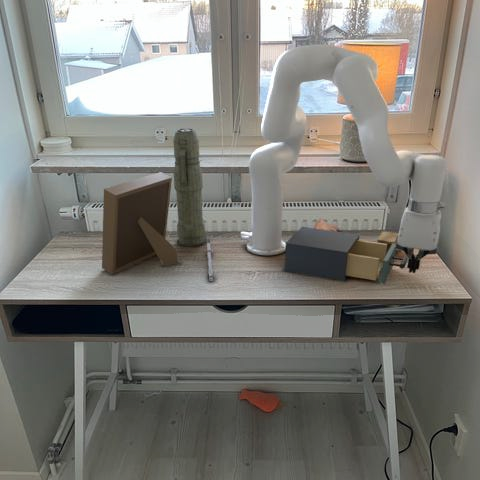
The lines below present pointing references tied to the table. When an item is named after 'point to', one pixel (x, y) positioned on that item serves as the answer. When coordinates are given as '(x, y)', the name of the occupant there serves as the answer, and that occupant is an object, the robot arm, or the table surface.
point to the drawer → (372, 260)
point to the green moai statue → (188, 188)
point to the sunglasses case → (325, 226)
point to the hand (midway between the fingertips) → (412, 270)
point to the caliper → (209, 259)
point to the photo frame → (136, 223)
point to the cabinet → (319, 252)
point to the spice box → (388, 239)
